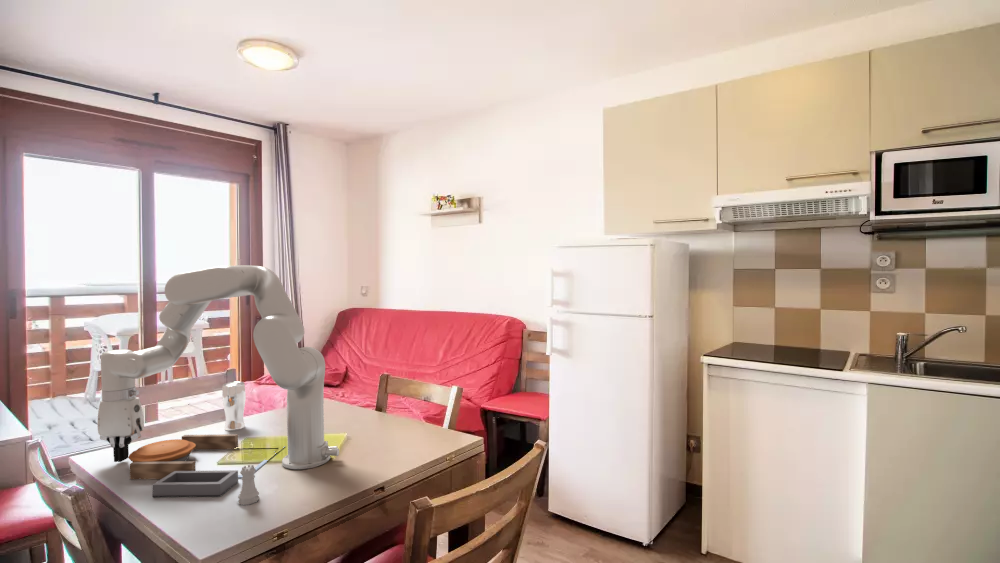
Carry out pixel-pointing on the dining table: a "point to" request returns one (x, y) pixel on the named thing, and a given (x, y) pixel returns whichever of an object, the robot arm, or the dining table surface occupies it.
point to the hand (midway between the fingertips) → (121, 459)
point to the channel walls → (165, 468)
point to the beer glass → (234, 405)
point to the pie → (163, 451)
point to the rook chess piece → (248, 487)
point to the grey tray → (195, 484)
